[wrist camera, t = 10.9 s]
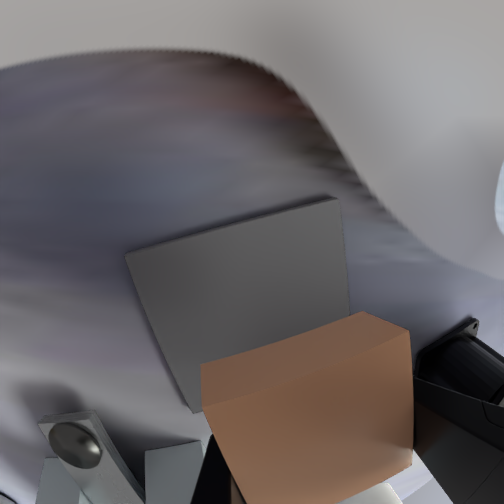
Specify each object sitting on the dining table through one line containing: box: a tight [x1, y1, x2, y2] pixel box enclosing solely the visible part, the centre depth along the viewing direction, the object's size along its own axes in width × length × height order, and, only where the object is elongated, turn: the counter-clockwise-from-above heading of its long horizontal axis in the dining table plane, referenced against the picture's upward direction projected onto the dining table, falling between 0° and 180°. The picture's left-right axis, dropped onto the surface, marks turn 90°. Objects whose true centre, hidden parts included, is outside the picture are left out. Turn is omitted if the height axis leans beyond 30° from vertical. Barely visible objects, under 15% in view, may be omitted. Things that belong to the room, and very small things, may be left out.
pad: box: [124, 197, 350, 414], centre depth 14 cm, size 9×9×1 cm
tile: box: [200, 311, 414, 504], centre depth 7 cm, size 5×5×2 cm
